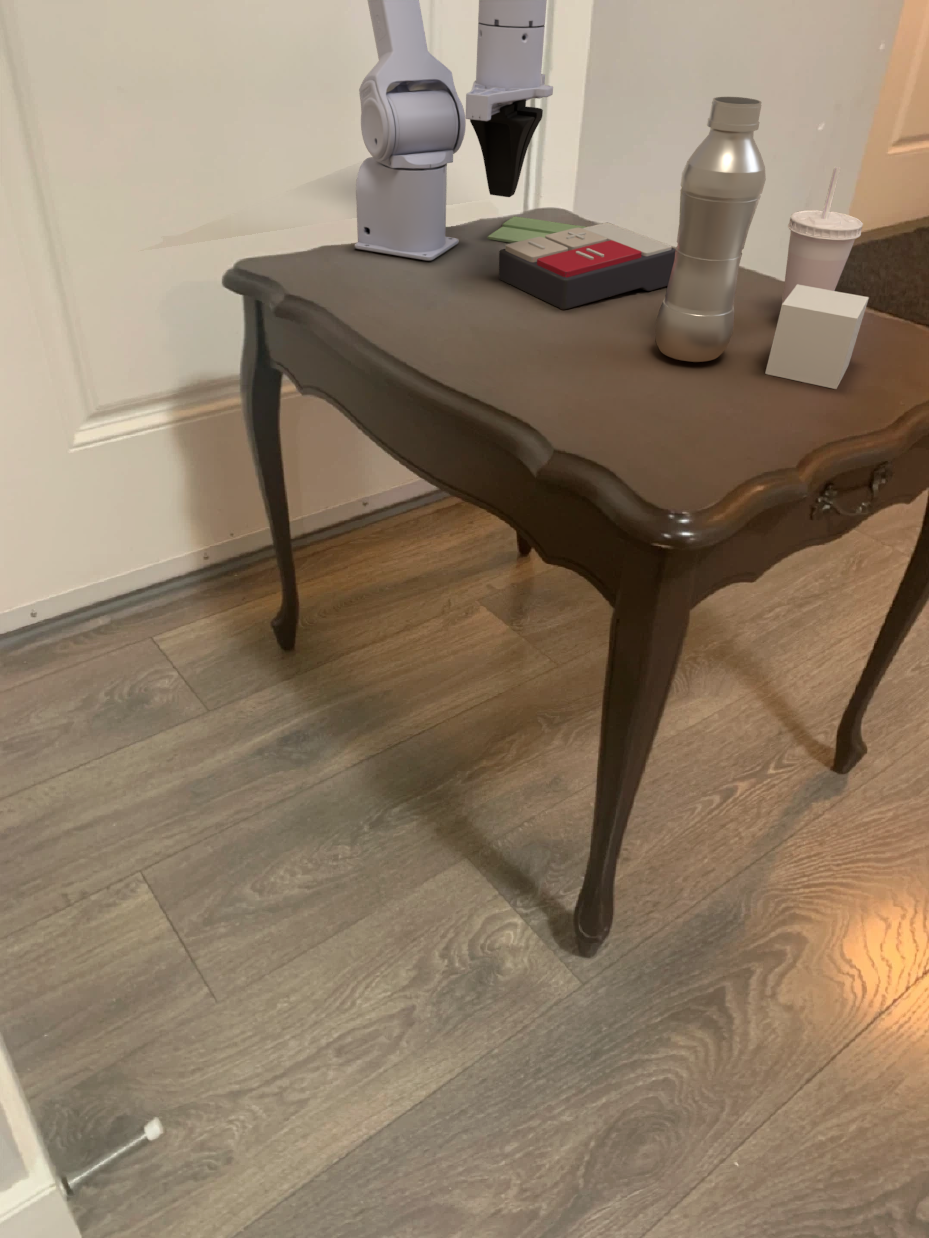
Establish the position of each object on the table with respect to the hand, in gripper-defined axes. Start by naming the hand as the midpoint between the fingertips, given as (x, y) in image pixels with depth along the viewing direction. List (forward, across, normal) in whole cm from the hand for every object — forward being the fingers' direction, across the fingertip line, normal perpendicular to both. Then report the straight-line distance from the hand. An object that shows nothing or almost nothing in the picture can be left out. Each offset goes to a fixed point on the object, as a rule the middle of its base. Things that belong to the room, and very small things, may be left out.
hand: (502, 194), depth 88 cm
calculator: (+10, +8, -7) cm, 14 cm away
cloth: (+9, +22, +1) cm, 24 cm away
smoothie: (+10, +6, -29) cm, 31 cm away
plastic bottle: (+10, -7, -21) cm, 24 cm away
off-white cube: (+10, -5, -31) cm, 33 cm away
